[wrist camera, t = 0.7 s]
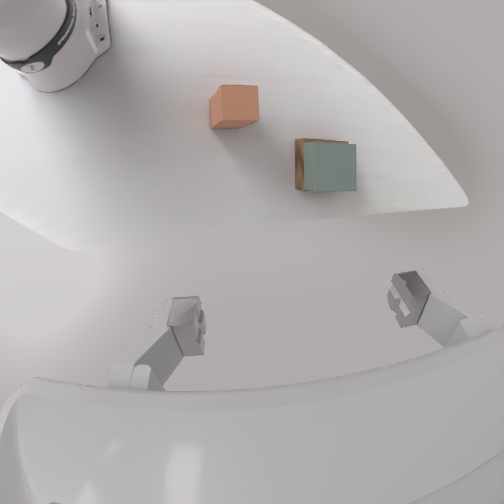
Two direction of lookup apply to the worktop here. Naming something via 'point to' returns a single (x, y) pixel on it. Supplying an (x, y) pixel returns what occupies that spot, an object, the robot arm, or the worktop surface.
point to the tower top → (329, 167)
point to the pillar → (234, 106)
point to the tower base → (300, 159)
